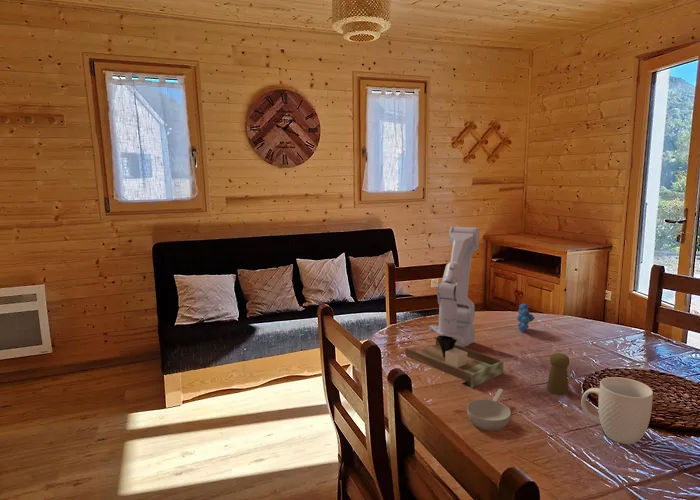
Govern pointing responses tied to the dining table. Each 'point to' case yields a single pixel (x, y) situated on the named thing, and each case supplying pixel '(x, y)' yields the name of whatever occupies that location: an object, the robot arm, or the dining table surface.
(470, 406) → the saucepan
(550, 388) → the cork
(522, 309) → the grapes
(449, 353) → the cream block
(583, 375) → the dining table surface
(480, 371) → the olive long flat tray
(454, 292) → the robot arm
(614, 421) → the mug
